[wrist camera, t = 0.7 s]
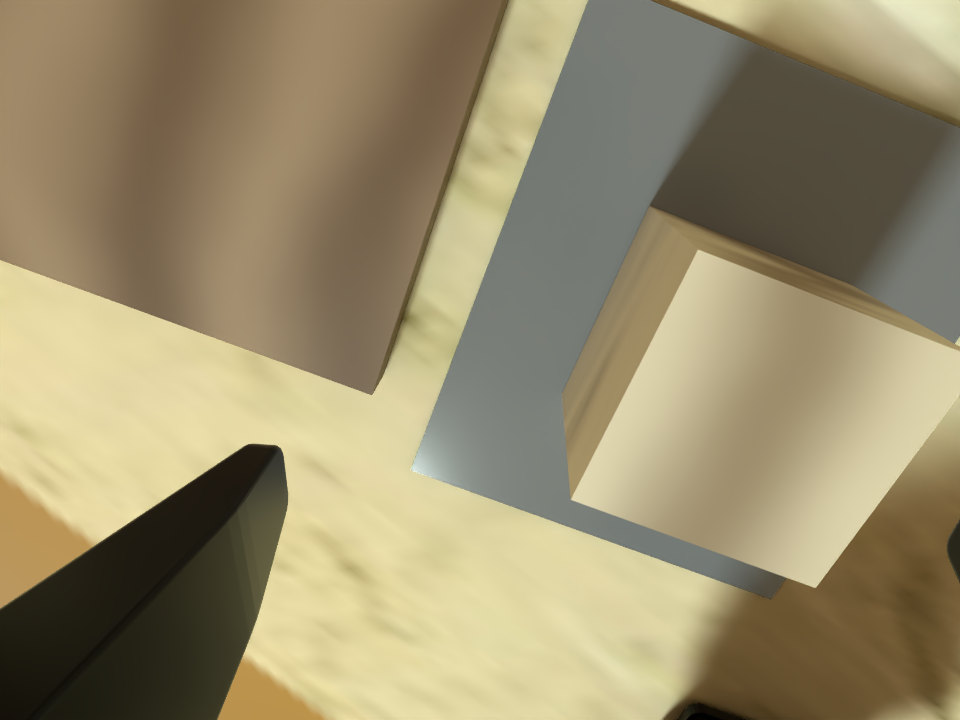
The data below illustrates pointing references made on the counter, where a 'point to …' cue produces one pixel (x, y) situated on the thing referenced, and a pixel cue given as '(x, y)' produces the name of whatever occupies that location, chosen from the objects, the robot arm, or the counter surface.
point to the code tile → (698, 199)
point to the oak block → (748, 400)
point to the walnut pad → (239, 160)
